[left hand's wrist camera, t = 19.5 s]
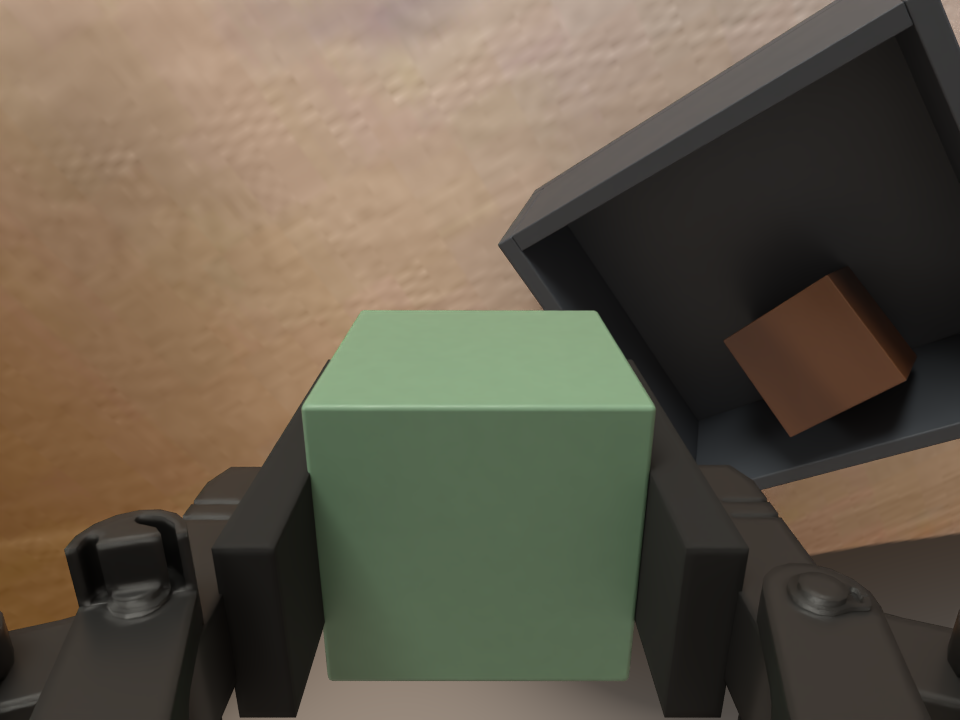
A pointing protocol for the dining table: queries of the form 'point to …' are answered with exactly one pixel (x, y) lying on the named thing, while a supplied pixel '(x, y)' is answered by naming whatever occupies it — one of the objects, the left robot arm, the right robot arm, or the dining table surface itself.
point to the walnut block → (822, 352)
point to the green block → (479, 497)
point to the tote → (775, 231)
